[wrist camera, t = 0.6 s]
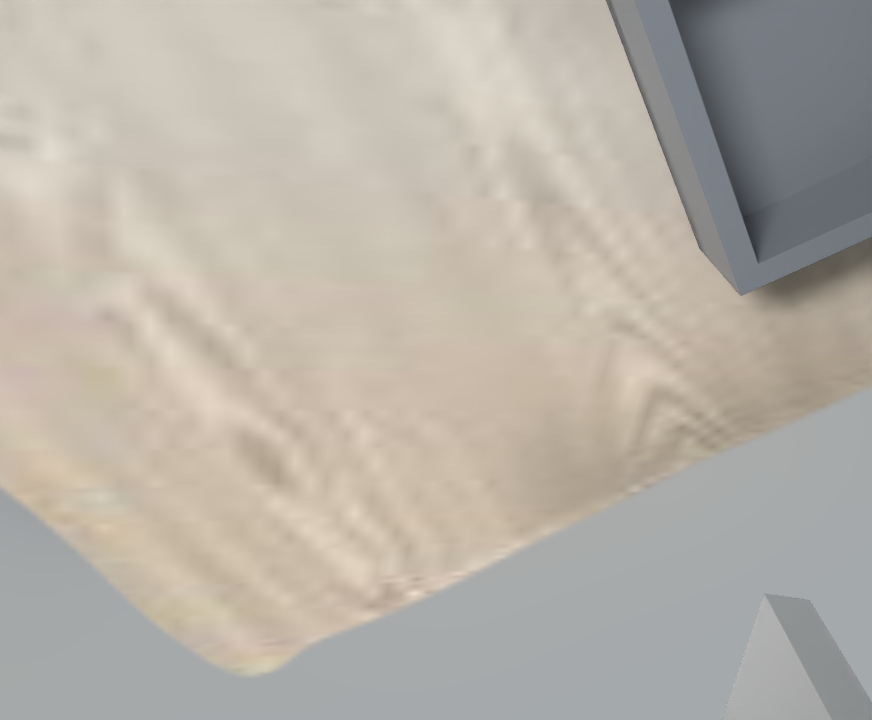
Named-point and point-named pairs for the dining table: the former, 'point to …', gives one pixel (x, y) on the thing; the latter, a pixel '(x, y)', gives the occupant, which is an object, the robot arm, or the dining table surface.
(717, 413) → the dining table surface
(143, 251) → the dining table surface
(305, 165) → the dining table surface
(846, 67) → the tub
